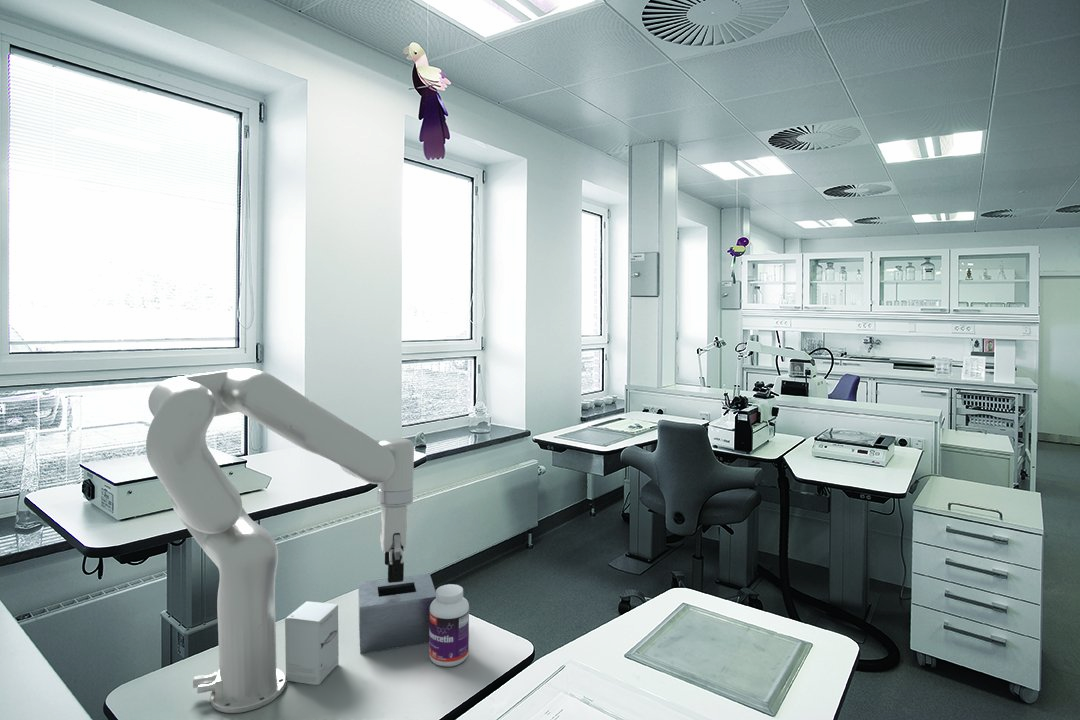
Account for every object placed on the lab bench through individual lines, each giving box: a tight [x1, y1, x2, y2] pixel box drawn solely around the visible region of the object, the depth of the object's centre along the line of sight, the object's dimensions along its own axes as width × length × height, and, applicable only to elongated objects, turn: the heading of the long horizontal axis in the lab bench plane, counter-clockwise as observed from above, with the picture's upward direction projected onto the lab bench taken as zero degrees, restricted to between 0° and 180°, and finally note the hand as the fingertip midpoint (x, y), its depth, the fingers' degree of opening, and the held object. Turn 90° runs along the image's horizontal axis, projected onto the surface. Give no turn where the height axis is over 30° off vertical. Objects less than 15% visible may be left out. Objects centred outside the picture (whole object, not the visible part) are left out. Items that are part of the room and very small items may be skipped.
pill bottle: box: [428, 583, 470, 667], centre depth 121 cm, size 8×8×14 cm
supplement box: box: [284, 600, 340, 686], centre depth 116 cm, size 7×7×13 cm
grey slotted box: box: [357, 573, 436, 654], centre depth 131 cm, size 16×12×10 cm
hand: (393, 572), depth 130 cm, fingers open, 9 cm apart
